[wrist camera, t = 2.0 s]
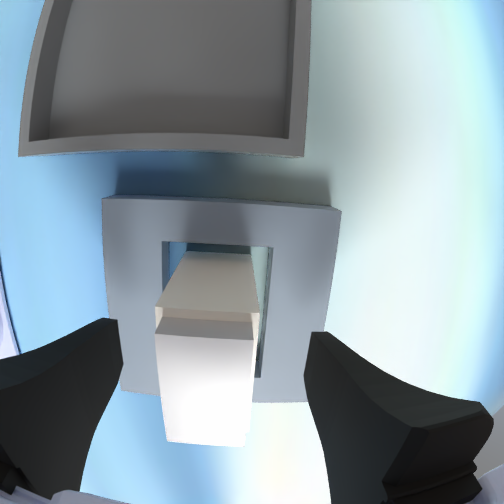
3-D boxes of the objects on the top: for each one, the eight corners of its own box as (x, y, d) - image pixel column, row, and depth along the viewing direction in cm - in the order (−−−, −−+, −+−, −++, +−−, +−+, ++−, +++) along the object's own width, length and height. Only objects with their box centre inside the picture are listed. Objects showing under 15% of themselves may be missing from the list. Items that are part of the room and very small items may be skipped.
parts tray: (46, 156, 13) (18, 156, 10) (94, -61, 9) (79, -81, 7) (292, 158, 14) (303, 156, 11) (302, -71, 10) (310, -96, 7)
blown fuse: (186, 343, 16) (162, 445, 9) (186, 251, 15) (146, 323, 8) (244, 347, 16) (249, 451, 9) (251, 254, 15) (262, 330, 8)
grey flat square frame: (128, 374, 16) (121, 390, 15) (114, 194, 14) (101, 198, 12) (303, 384, 17) (308, 401, 15) (331, 206, 14) (341, 211, 13)
